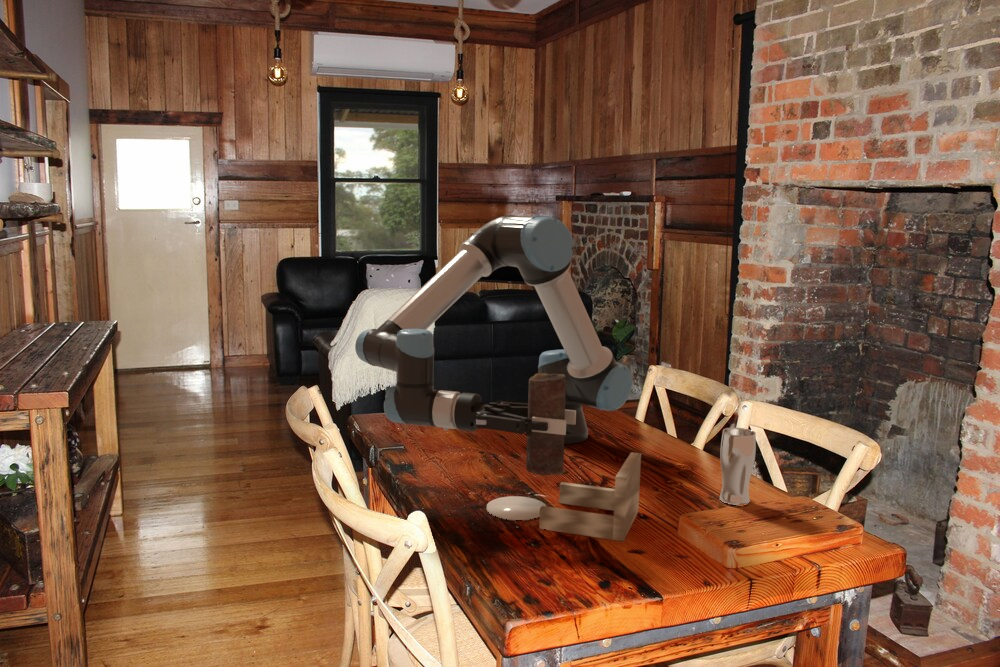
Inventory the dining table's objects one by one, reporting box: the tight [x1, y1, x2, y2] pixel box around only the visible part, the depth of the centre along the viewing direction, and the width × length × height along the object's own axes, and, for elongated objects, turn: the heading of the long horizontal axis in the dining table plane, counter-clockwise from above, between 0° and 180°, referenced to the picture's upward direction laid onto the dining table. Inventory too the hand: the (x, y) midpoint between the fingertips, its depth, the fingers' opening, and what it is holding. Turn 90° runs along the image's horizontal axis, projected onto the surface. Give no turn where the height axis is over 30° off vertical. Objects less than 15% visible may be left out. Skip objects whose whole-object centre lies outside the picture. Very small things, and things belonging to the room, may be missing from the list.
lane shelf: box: [538, 451, 642, 542], centre depth 160 cm, size 16×16×12 cm
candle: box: [525, 372, 566, 476], centre depth 161 cm, size 8×7×20 cm
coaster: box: [486, 495, 547, 521], centre depth 166 cm, size 12×12×1 cm
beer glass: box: [719, 427, 757, 505], centre depth 172 cm, size 7×7×15 cm
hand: (570, 422), depth 159 cm, fingers closed on candle, 7 cm apart
